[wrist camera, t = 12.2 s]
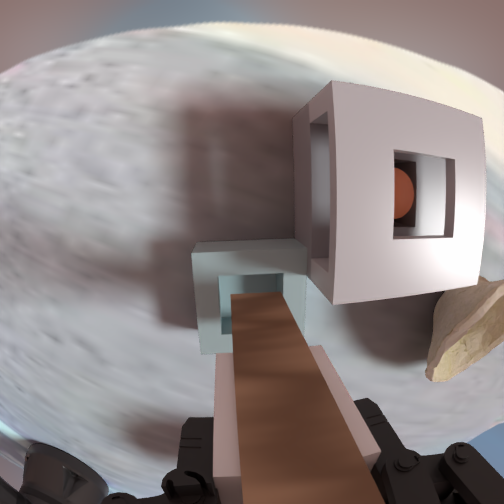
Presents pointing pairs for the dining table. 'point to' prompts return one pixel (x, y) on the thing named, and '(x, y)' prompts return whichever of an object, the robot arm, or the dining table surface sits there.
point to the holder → (244, 282)
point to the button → (402, 193)
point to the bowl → (465, 328)
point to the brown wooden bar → (289, 414)
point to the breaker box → (387, 193)
